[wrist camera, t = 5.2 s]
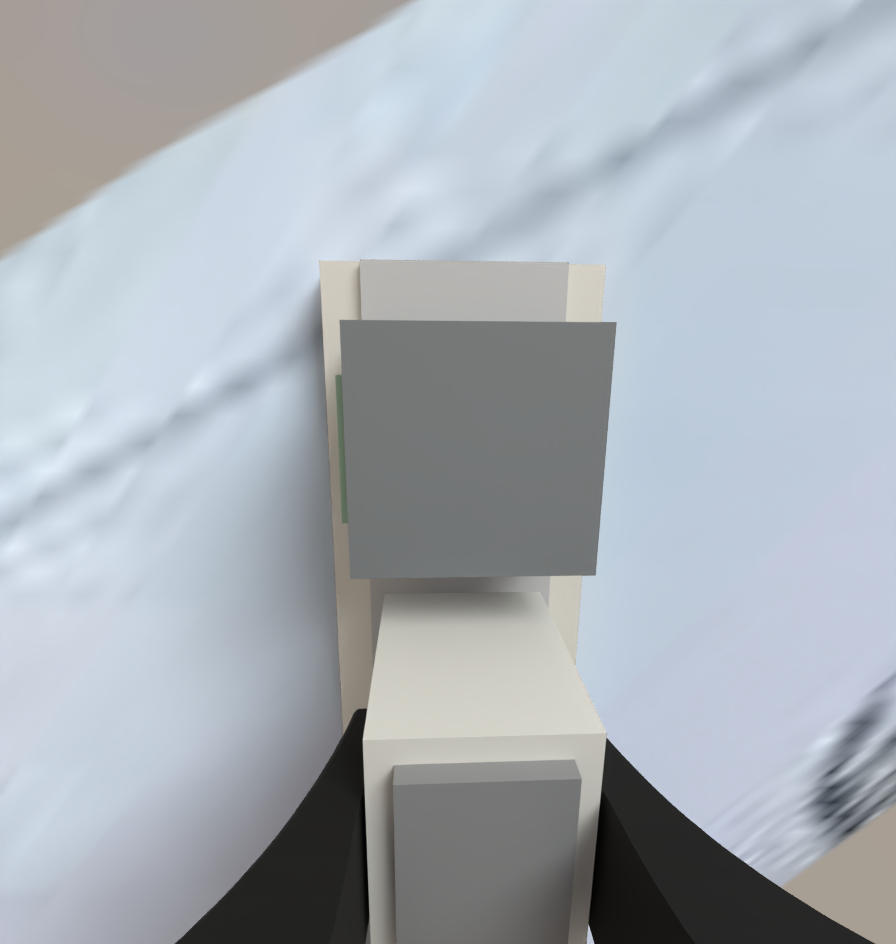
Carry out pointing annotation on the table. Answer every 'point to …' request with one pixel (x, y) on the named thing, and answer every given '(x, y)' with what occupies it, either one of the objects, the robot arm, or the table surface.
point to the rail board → (462, 437)
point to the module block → (479, 774)
